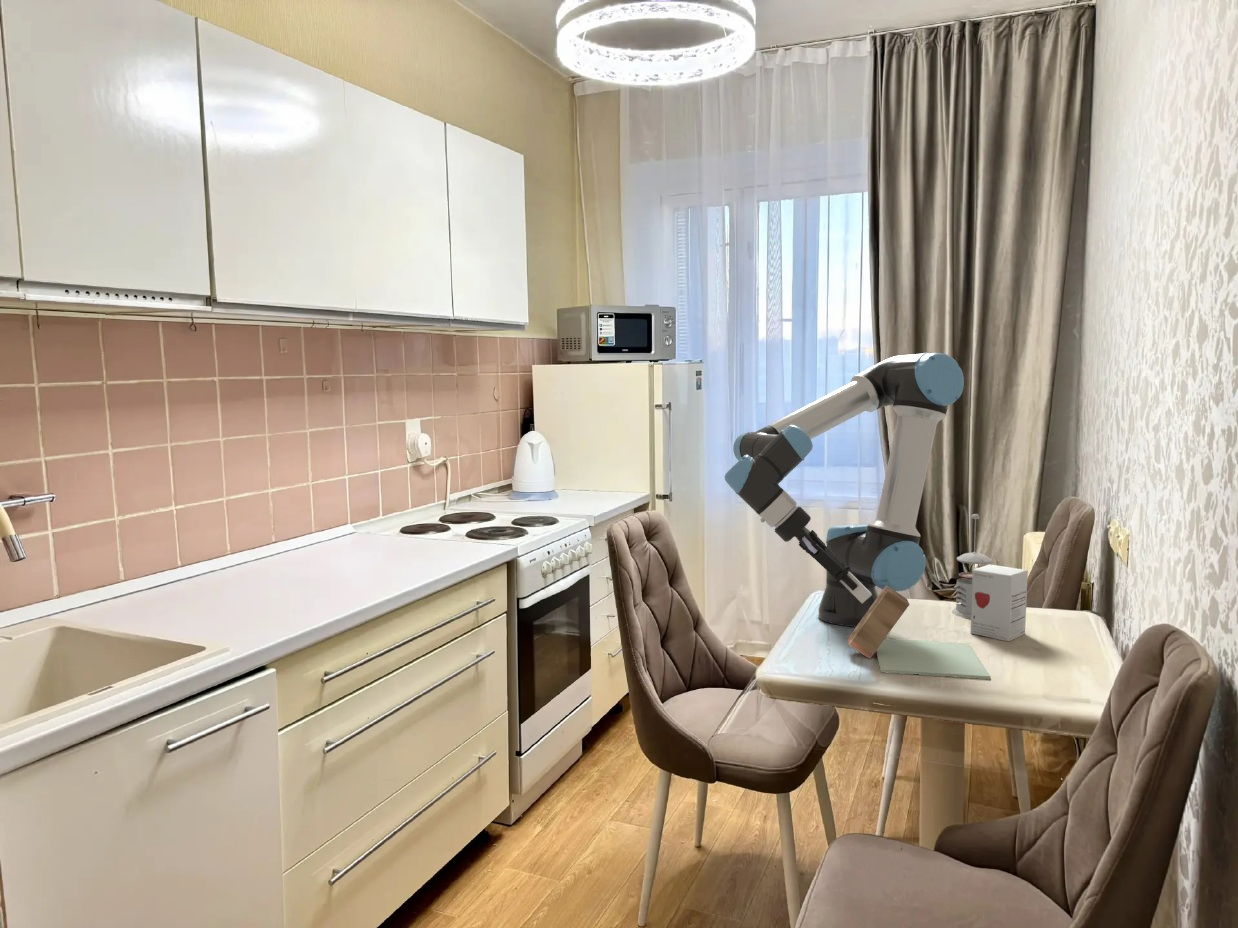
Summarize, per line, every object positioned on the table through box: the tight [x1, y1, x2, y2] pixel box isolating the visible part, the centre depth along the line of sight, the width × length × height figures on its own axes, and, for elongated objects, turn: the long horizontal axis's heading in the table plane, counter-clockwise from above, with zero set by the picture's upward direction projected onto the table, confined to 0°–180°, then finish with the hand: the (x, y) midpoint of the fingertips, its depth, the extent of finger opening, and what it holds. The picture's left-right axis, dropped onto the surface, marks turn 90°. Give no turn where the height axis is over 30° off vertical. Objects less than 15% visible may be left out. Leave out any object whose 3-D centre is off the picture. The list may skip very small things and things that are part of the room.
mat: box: [875, 638, 992, 680], centre depth 173 cm, size 22×20×1 cm
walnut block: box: [847, 585, 910, 659], centre depth 174 cm, size 5×5×14 cm
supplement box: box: [970, 563, 1029, 642], centre depth 190 cm, size 9×9×15 cm
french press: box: [951, 513, 993, 619], centre depth 206 cm, size 10×12×25 cm
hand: (866, 598), depth 174 cm, fingers closed
